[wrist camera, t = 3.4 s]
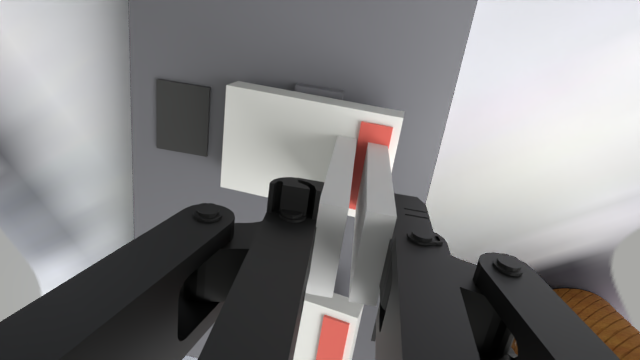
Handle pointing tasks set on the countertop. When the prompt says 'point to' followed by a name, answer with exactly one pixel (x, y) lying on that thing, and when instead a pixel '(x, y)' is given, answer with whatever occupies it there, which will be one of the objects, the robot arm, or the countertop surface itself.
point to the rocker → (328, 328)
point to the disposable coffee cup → (602, 322)
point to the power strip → (290, 74)
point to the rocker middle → (296, 136)
